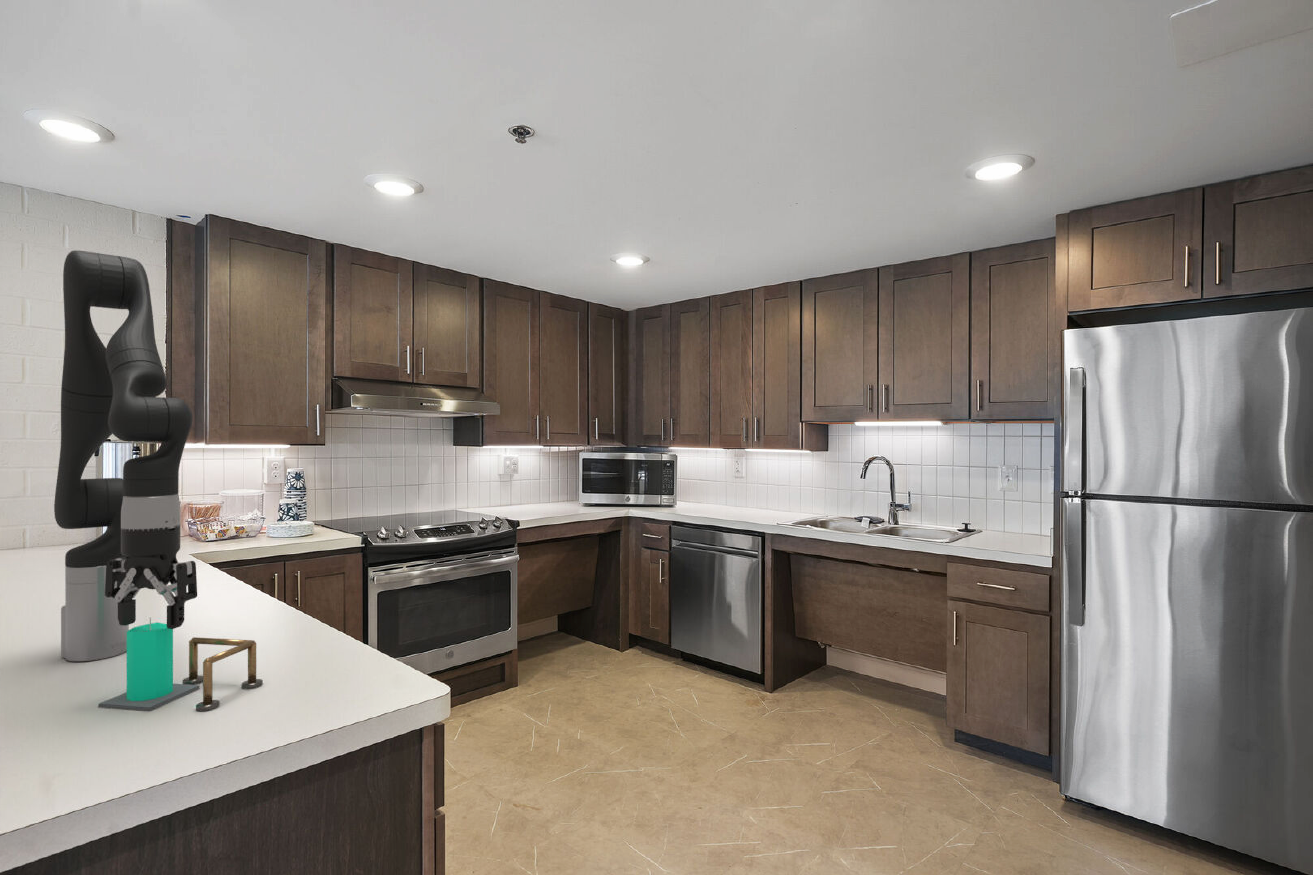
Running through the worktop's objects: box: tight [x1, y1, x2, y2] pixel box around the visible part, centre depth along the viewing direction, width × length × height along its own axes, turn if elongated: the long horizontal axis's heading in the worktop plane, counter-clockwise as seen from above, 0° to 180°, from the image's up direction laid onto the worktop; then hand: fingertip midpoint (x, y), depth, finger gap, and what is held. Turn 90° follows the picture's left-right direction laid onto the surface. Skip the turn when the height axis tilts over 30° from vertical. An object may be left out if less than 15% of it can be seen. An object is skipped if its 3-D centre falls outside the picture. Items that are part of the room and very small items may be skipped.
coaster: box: [97, 683, 201, 712], centre depth 106 cm, size 9×9×1 cm
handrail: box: [181, 637, 264, 713], centre depth 107 cm, size 14×12×8 cm
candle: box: [126, 617, 174, 701], centre depth 106 cm, size 6×6×12 cm
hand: (151, 625), depth 106 cm, fingers open, 8 cm apart
